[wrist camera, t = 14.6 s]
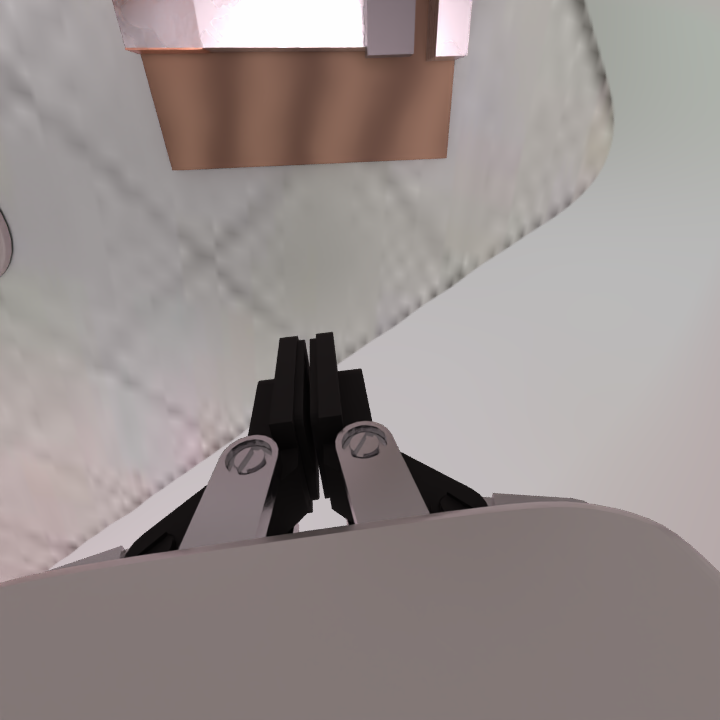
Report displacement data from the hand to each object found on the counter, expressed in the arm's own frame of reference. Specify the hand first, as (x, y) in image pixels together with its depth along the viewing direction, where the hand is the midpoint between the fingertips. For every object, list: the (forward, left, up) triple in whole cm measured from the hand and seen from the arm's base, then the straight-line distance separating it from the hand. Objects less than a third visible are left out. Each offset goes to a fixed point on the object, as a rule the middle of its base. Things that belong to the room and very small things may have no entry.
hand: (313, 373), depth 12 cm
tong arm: (-2, +12, -26) cm, 29 cm away
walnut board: (0, +11, -27) cm, 29 cm away
